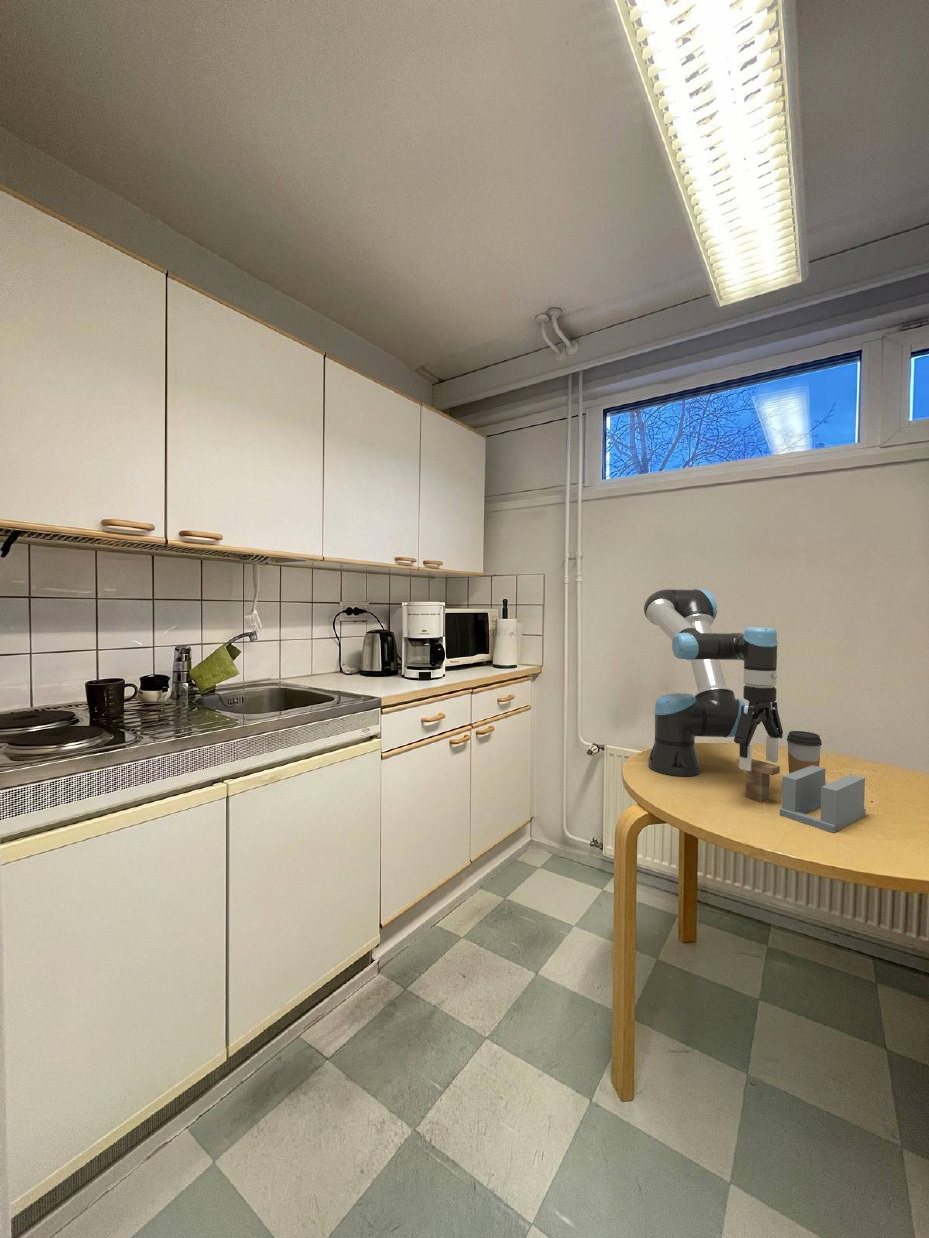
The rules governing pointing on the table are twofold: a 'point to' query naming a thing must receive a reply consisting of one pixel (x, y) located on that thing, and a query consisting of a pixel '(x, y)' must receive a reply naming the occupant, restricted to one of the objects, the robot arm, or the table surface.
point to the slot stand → (822, 798)
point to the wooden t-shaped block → (759, 780)
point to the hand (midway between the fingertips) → (758, 765)
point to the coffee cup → (803, 750)
